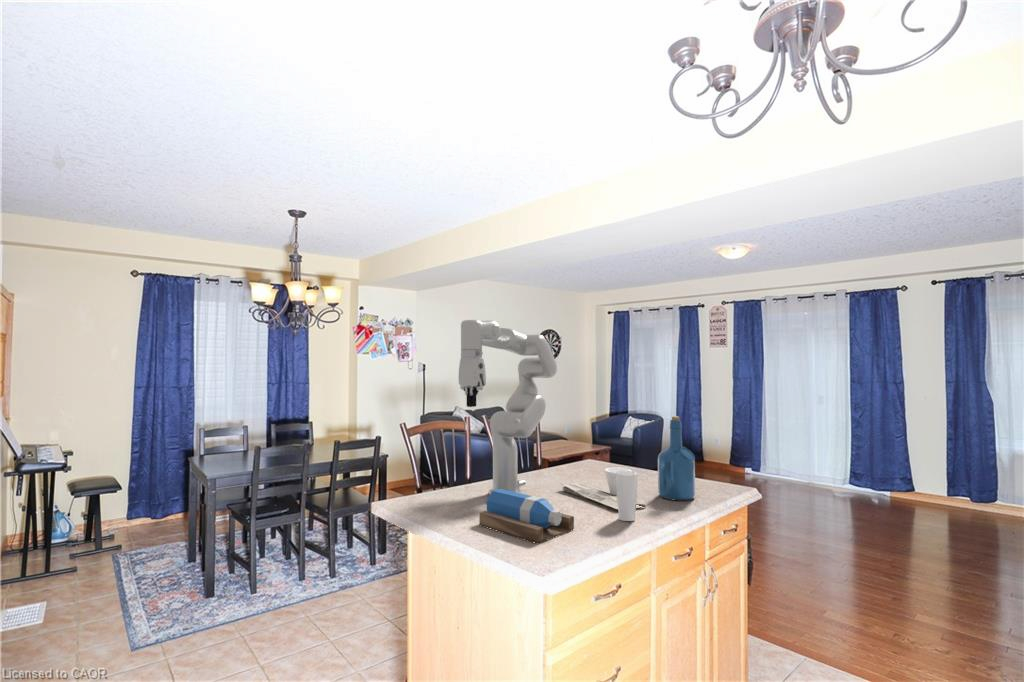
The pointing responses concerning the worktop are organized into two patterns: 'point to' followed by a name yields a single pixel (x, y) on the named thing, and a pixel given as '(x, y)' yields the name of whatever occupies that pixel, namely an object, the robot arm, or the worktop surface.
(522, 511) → the water bottle
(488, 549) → the worktop surface
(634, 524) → the worktop surface
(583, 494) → the newspaper
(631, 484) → the drinking glass
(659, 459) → the wine bottle
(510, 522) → the u rest
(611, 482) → the cup
